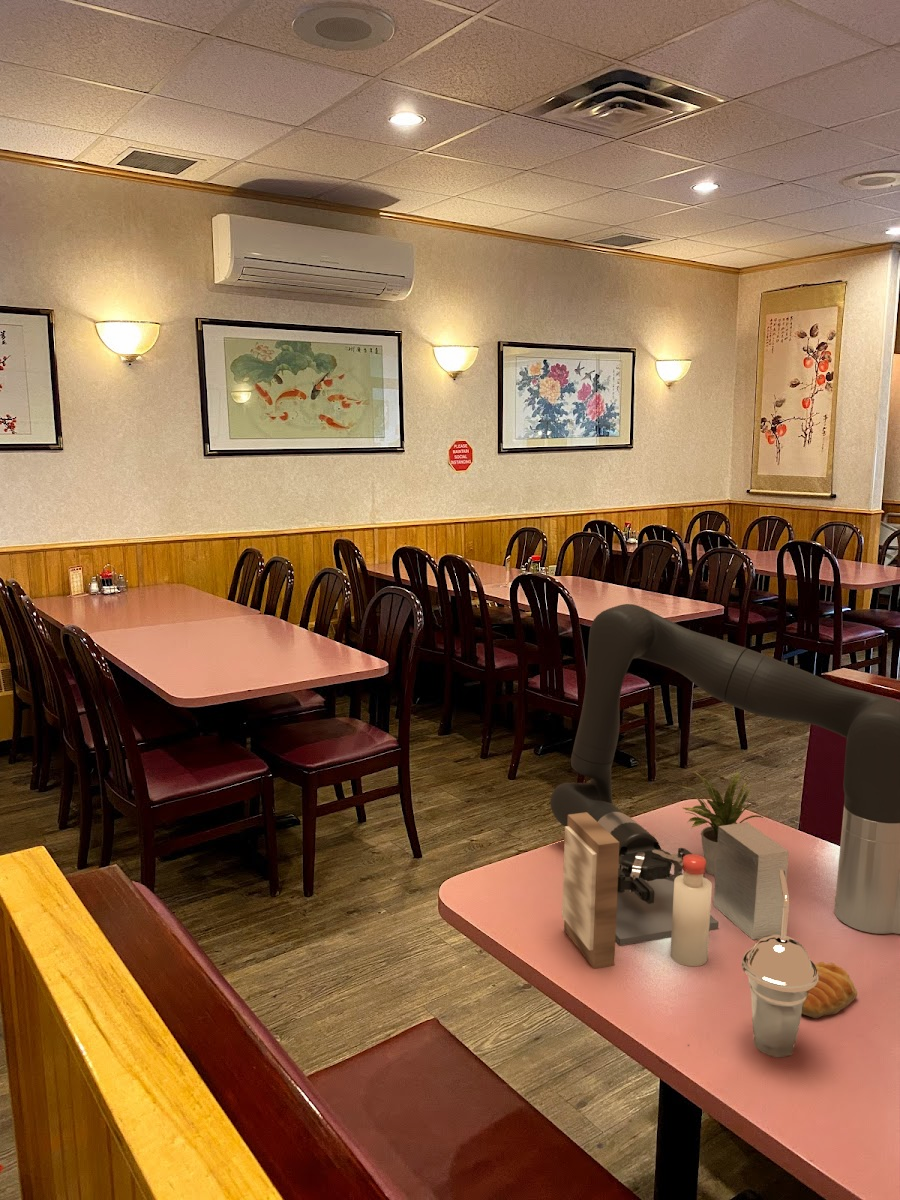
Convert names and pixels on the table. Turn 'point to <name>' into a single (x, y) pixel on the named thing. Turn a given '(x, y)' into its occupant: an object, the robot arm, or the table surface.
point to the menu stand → (590, 888)
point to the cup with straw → (778, 986)
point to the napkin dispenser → (749, 879)
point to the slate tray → (647, 915)
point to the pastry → (829, 991)
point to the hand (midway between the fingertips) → (679, 893)
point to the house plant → (717, 817)
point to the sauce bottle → (691, 913)
